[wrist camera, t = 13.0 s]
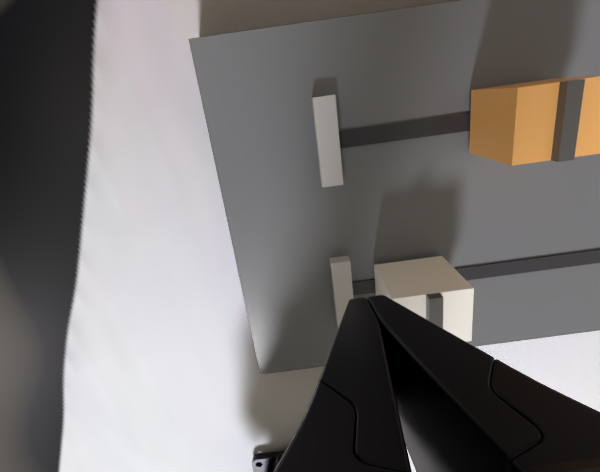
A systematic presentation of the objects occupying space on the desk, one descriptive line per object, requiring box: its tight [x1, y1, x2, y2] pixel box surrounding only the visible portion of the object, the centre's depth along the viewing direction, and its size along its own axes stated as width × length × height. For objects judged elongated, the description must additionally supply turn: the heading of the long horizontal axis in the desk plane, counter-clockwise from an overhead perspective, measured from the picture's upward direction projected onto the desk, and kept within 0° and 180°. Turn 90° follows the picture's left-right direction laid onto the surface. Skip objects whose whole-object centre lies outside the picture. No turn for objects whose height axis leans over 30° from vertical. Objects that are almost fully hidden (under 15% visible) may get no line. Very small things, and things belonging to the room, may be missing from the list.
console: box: [189, 0, 600, 374], centre depth 19 cm, size 18×24×3 cm
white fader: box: [374, 256, 474, 342], centre depth 18 cm, size 3×4×4 cm
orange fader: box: [469, 75, 600, 166], centre depth 15 cm, size 3×4×4 cm
